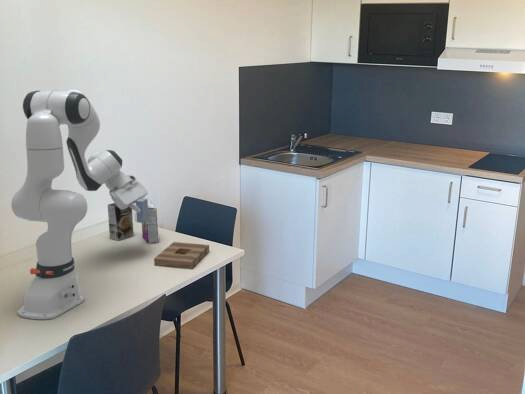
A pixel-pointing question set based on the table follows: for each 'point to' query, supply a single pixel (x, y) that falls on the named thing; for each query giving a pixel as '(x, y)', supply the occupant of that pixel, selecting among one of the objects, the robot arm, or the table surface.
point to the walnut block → (181, 255)
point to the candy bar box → (150, 225)
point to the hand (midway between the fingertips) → (143, 209)
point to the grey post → (143, 214)
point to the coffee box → (120, 222)
